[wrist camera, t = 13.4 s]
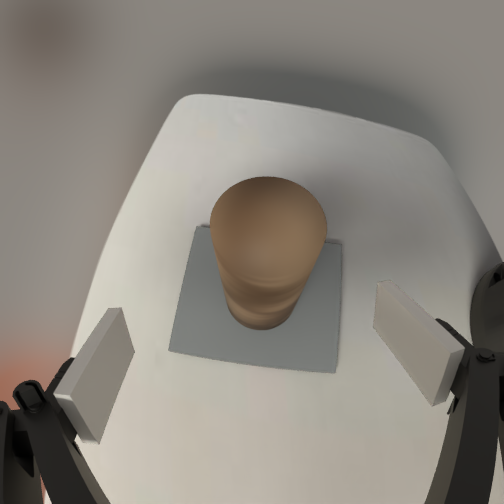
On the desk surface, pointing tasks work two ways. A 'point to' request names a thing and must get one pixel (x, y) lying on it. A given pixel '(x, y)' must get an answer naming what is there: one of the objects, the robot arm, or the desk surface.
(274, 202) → the walnut canister
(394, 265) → the desk surface
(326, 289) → the slate mat
